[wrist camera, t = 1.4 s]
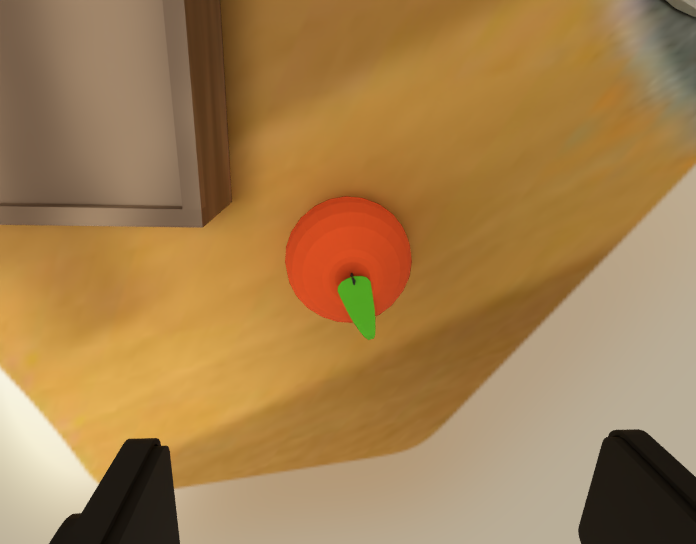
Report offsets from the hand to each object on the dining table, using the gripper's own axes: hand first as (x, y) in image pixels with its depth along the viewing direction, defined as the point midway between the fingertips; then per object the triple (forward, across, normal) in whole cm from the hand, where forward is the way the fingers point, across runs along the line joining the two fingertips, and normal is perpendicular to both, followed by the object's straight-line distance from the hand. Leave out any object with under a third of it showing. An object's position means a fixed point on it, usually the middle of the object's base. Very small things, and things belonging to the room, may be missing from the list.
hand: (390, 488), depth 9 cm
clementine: (+19, 0, 0) cm, 19 cm away
